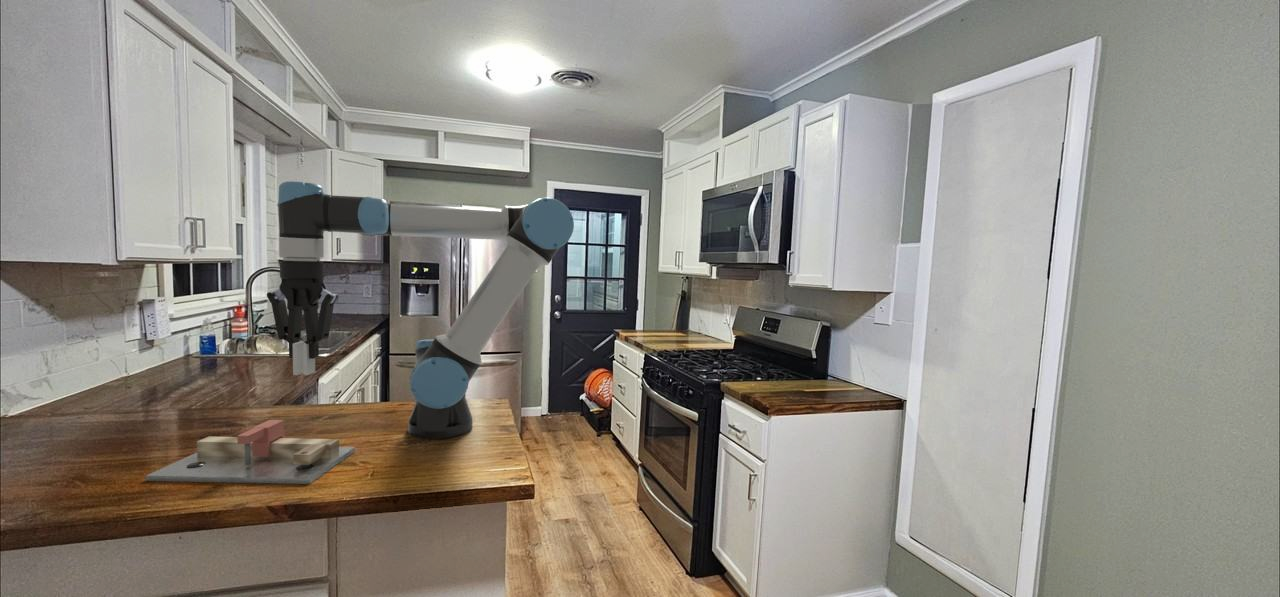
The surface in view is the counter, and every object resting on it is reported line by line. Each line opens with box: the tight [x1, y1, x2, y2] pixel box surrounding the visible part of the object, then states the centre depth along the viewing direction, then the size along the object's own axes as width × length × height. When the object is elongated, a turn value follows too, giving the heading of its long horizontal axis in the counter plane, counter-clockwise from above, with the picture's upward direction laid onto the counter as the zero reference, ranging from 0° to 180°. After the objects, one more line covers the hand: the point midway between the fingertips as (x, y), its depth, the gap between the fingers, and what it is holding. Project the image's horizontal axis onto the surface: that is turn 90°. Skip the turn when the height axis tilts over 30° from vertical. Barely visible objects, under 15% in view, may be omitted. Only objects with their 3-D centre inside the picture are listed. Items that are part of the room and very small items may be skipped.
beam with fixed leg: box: [196, 435, 340, 468], centre depth 103 cm, size 27×8×3 cm, turn 92°
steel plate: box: [145, 446, 356, 485], centre depth 102 cm, size 30×16×1 cm, turn 92°
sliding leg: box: [236, 419, 286, 465], centre depth 103 cm, size 3×10×6 cm, turn 2°
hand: (304, 373), depth 104 cm, fingers closed
